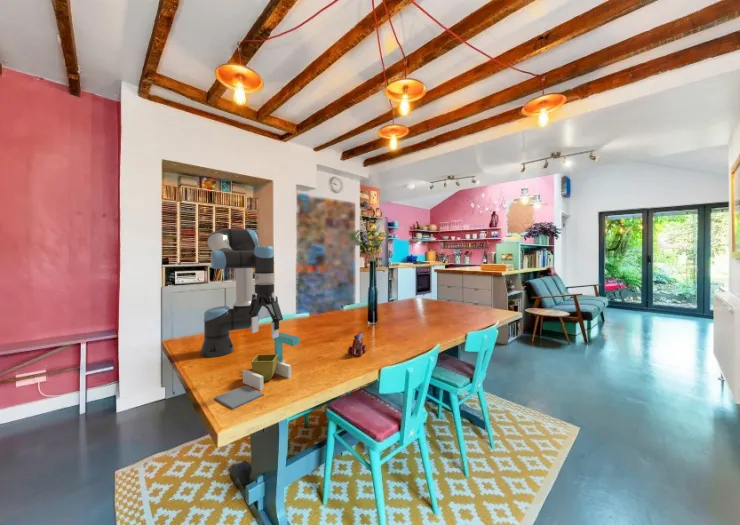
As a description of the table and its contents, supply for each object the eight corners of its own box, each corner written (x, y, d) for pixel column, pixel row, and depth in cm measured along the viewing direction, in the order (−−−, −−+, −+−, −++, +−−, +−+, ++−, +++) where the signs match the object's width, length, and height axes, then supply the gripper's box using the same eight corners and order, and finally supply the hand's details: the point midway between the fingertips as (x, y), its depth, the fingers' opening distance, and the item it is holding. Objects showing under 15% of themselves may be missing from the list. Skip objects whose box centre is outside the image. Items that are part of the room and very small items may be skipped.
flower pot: (257, 374, 128) (257, 354, 128) (278, 374, 129) (278, 353, 129) (251, 383, 120) (250, 361, 119) (273, 383, 120) (273, 361, 120)
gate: (273, 363, 140) (273, 334, 139) (280, 360, 143) (280, 332, 142) (292, 369, 132) (292, 339, 131) (299, 366, 135) (299, 337, 135)
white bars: (234, 378, 124) (233, 366, 124) (282, 361, 144) (282, 350, 144) (260, 390, 114) (260, 377, 114) (308, 369, 134) (308, 358, 134)
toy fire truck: (346, 356, 151) (346, 336, 151) (355, 349, 163) (355, 330, 162) (359, 358, 149) (359, 337, 148) (367, 350, 160) (367, 331, 160)
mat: (214, 398, 107) (214, 397, 107) (245, 386, 117) (245, 385, 117) (232, 409, 100) (232, 407, 100) (263, 395, 110) (263, 393, 110)
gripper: (238, 282, 127) (239, 331, 128) (275, 286, 113) (276, 342, 113) (254, 280, 133) (255, 328, 134) (291, 284, 119) (292, 337, 119)
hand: (264, 334), depth 124 cm, fingers open, 13 cm apart
